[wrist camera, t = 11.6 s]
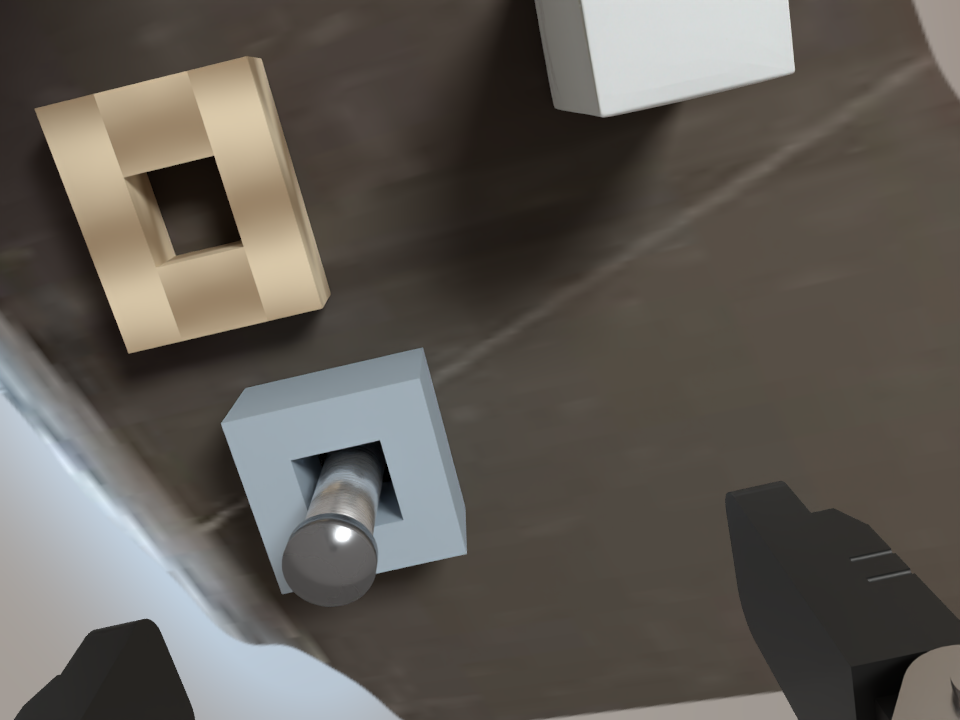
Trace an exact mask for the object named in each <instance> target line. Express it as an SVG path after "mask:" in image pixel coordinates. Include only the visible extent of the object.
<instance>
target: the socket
mask: <svg viewBox="0 0 960 720" xmlns="http://www.w3.org/2000/svg"><path fill="white" fill-rule="evenodd" d="M221 425H222V428H223V431H224V433H225V436H226V439H227V442H228V445H229V447H230V450H231V453H232V456H233V459H234V461H235V464H236V467H237V470H238V473H239V475H240V478H241V481H242V484H243V487H244V489H245V492H246V495H247V498H248V501H249V503H250V506H251V509H252V512H253V515H254V517H255V520H256V523H257V526H258V529H259V531H260V534H261V537H262V540H263V543H264V545H265V548H266V551H267V554H268V556H269V559H270V562H271V565H272V568H273V570H274V573H275V576H276V579H277V582H278V584H279V587H280V590H281V593H282V594H286V593H290V592H293V591H292V589H291V588H290V587H289V586H288V584H287V582H286V580H285V578H284V575H283V572H282V557H283V553H284V551H285V548H286V545H287V542H288V539H289V537H290V535H291V533H292V532H293V530H294V529H295V528H296V527H297V526H298V525H299V524H300V523H301V522H303V521H304V520H305V518H306V515H307V512H308V509H309V506H310V503H311V500H312V497H313V494H314V492H315V489H316V486H317V483H318V480H319V477H320V474H321V471H322V466H321V463H320V460H319V457H318V454H321V453H326V452H330V451H334V450H339V449H343V448H348V447H352V446H357V445H361V444H365V443H370V442H374V441H379V440H380V442H381V445H382V448H383V452H384V455H385V459H386V462H387V465H388V469H389V472H390V476H391V479H392V481H387V482H383V483H382V486H381V492H380V498H379V504H378V509H377V515H376V521H375V527H374V532H373V537H374V538H375V541H376V543H377V547H378V563H377V569H376V574H377V573H381V572H386V571H391V570H395V569H400V568H404V567H409V566H413V565H418V564H423V563H427V562H432V561H436V560H441V559H445V558H450V557H454V556H459V555H464V554H467V545H466V514H465V505H464V501H463V497H462V493H461V490H460V486H459V482H458V478H457V474H456V471H455V467H454V463H453V459H452V455H451V452H450V448H449V444H448V440H447V437H446V433H445V429H444V425H443V421H442V418H441V414H440V410H439V406H438V403H437V399H436V395H435V391H434V387H433V384H432V380H431V376H430V372H429V368H428V365H427V361H426V357H425V353H424V350H423V348H418V349H414V350H410V351H405V352H401V353H397V354H392V355H388V356H383V357H379V358H375V359H370V360H366V361H362V362H357V363H353V364H349V365H344V366H340V367H336V368H331V369H327V370H323V371H318V372H314V373H310V374H305V375H301V376H297V377H292V378H288V379H283V380H279V381H275V382H270V383H266V384H262V385H257V386H253V387H249V388H245V389H244V391H243V392H242V394H241V395H240V397H239V398H238V400H237V401H236V402H235V404H234V405H233V407H232V408H231V410H230V411H229V413H228V414H227V416H226V417H225V418H224V420H223V421H222V423H221Z"/></svg>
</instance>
